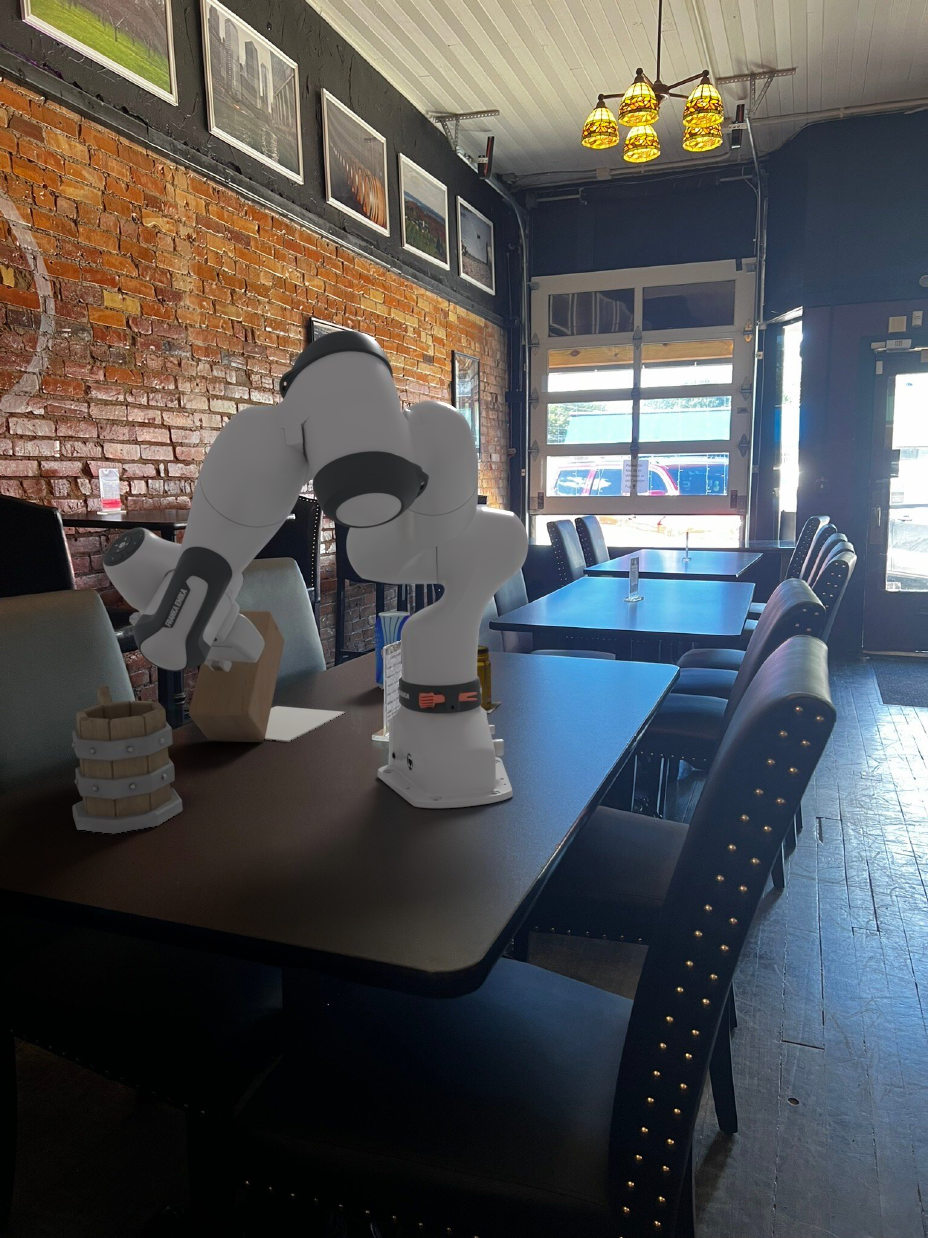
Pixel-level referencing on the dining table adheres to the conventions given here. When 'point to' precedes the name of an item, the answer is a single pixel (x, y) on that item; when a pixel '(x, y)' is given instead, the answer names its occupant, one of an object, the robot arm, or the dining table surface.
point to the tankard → (123, 766)
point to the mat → (295, 722)
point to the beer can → (387, 636)
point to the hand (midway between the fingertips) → (222, 667)
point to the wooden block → (240, 689)
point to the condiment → (485, 678)
